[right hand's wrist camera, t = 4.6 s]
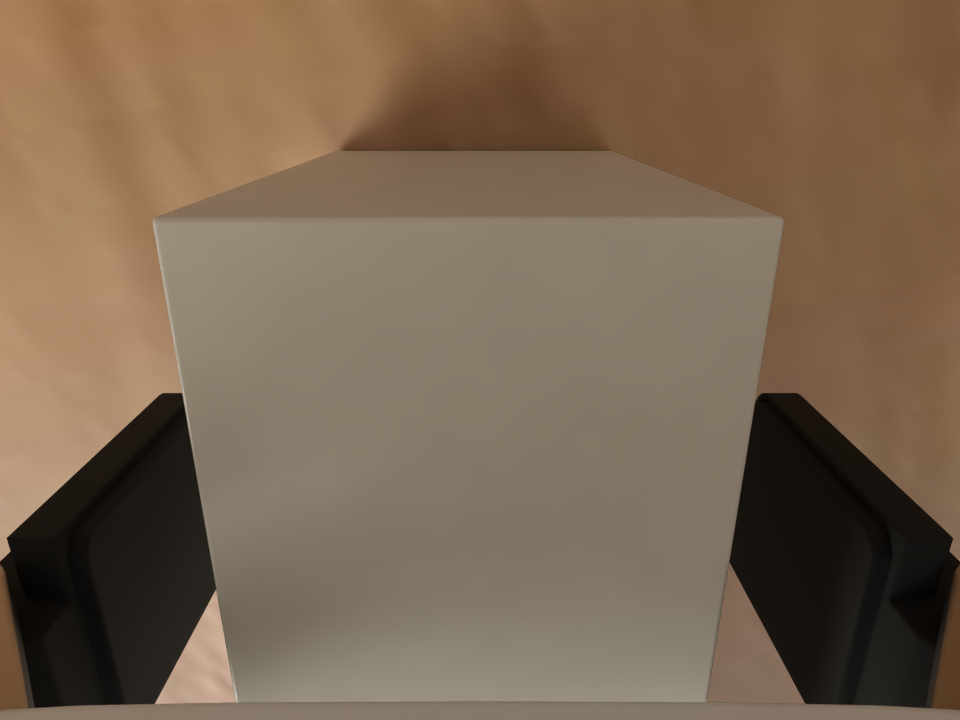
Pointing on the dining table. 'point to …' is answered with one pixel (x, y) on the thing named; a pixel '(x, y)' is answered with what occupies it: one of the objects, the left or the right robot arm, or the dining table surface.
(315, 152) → the dining table surface
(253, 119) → the dining table surface
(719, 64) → the dining table surface
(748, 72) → the dining table surface
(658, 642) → the bar
